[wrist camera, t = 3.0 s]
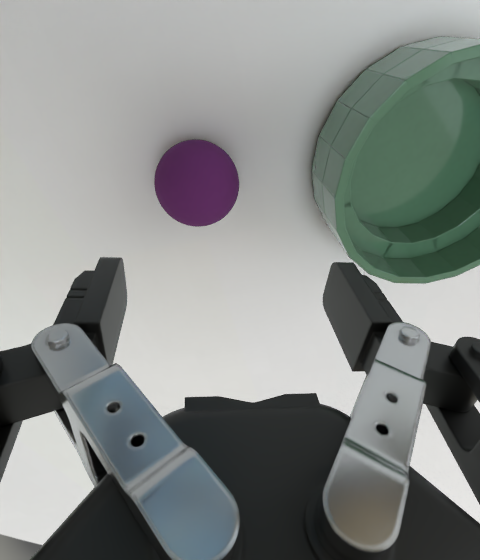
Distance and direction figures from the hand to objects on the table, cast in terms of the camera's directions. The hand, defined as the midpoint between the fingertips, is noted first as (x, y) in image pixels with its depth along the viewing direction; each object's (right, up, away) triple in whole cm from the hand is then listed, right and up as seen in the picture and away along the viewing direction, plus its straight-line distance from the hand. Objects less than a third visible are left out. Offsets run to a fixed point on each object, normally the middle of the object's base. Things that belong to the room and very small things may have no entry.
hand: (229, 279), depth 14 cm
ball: (-2, +6, +10) cm, 12 cm away
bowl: (+13, +9, +14) cm, 21 cm away
